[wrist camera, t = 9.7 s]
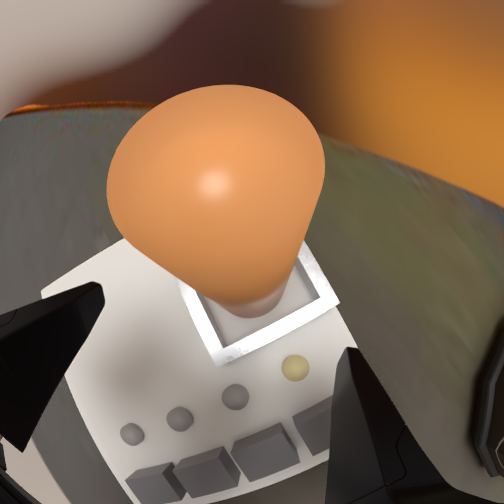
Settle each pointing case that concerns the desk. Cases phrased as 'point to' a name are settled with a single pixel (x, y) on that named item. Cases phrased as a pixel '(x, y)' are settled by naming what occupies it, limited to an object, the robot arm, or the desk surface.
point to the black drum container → (491, 411)
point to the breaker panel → (198, 386)
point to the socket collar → (225, 354)
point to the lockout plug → (220, 192)
